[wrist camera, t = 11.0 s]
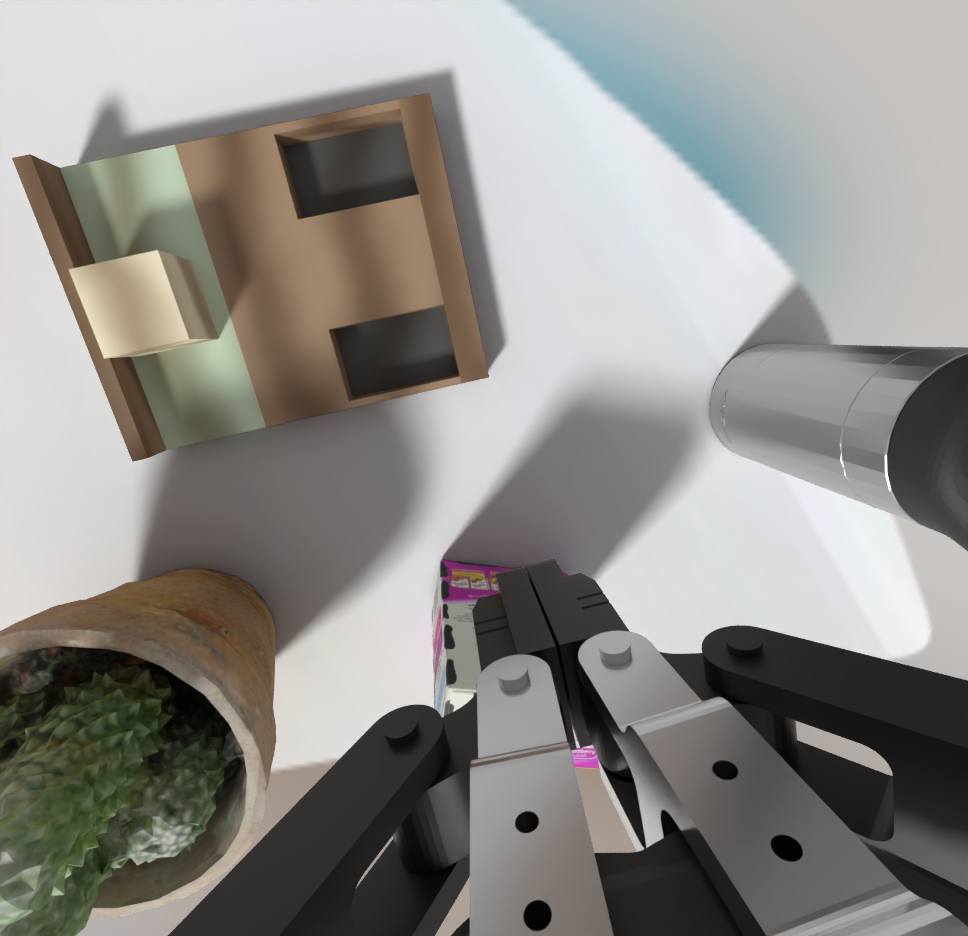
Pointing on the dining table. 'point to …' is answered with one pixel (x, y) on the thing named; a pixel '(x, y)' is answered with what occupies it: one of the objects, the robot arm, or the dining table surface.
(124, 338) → the block
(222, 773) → the potted plant
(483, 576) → the candy bar box
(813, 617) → the dining table surface
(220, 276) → the board
